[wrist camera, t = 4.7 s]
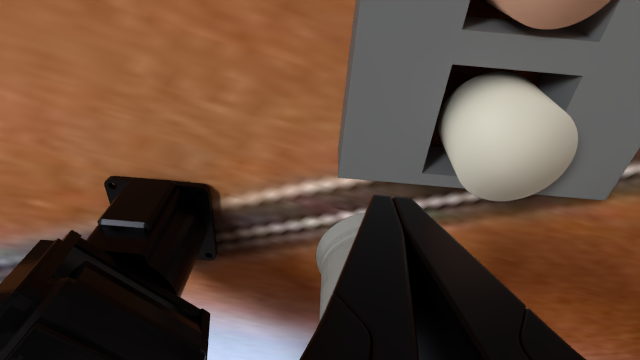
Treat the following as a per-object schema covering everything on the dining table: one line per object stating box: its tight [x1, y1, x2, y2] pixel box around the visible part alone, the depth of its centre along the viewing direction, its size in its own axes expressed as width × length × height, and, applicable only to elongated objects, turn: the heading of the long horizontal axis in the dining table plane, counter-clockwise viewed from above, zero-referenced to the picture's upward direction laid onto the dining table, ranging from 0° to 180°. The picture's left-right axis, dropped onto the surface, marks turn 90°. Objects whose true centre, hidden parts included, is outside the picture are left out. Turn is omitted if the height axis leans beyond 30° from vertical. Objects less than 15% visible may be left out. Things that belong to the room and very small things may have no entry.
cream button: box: [438, 71, 578, 201], centre depth 17 cm, size 5×5×3 cm
